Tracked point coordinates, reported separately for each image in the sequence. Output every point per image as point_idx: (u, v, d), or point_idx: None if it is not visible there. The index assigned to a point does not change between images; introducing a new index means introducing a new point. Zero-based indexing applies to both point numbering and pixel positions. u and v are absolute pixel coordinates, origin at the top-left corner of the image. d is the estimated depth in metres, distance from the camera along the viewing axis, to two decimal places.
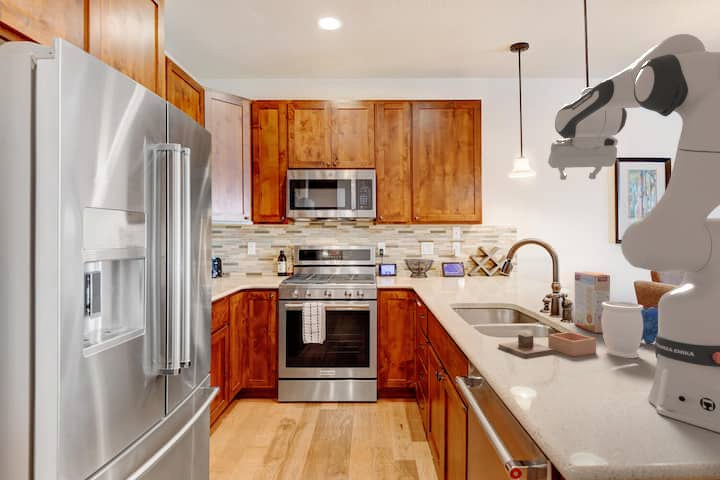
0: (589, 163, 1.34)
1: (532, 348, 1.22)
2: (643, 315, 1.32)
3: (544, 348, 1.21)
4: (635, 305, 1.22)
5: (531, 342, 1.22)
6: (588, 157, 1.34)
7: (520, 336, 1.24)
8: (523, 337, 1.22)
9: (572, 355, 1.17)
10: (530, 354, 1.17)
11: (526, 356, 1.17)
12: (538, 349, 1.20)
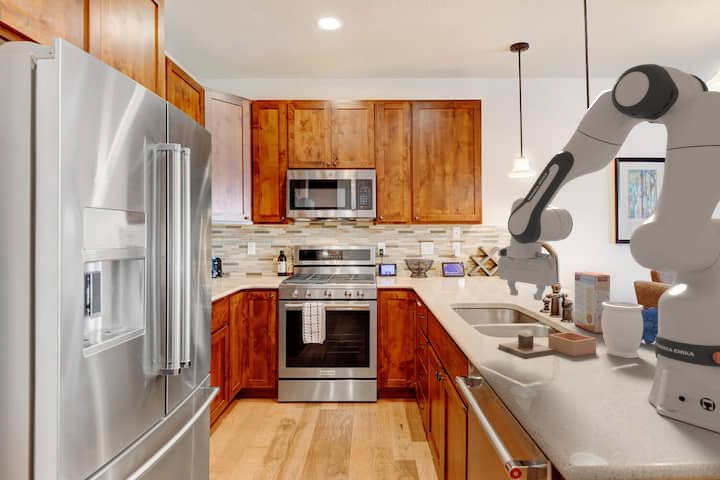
0: None
1: (532, 348, 1.22)
2: (643, 315, 1.32)
3: (544, 348, 1.21)
4: (635, 305, 1.22)
5: (531, 342, 1.22)
6: None
7: (520, 336, 1.24)
8: (523, 337, 1.22)
9: (572, 355, 1.17)
10: (530, 354, 1.17)
11: (526, 356, 1.17)
12: (538, 349, 1.20)
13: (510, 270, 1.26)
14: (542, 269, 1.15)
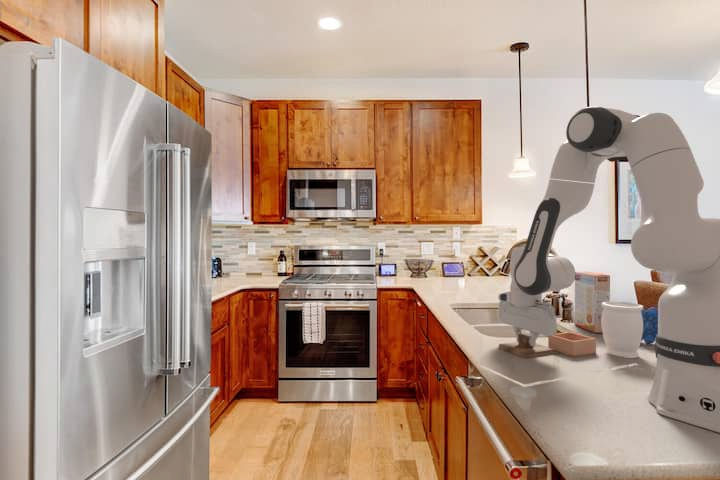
0: None
1: (532, 348, 1.22)
2: (643, 315, 1.32)
3: (544, 348, 1.21)
4: (635, 305, 1.22)
5: None
6: None
7: (520, 336, 1.23)
8: (523, 337, 1.22)
9: (572, 355, 1.17)
10: (530, 354, 1.17)
11: (527, 356, 1.17)
12: (538, 349, 1.20)
13: (511, 315, 1.27)
14: (542, 318, 1.15)
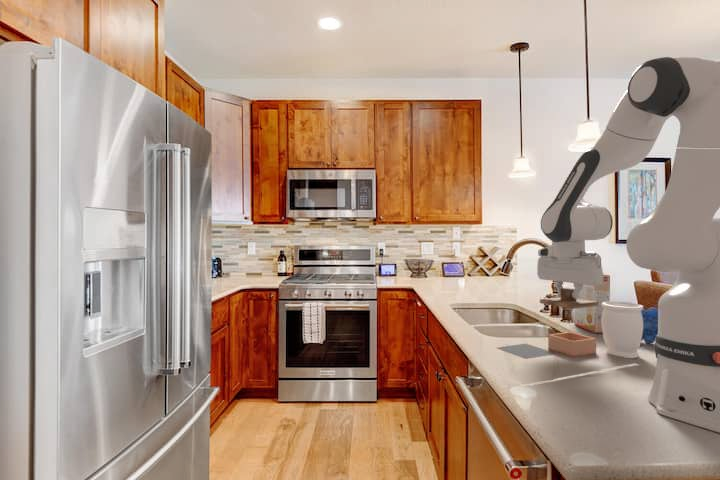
0: None
1: (575, 301, 1.21)
2: (643, 315, 1.32)
3: (588, 301, 1.20)
4: (635, 305, 1.22)
5: None
6: None
7: (563, 290, 1.22)
8: (566, 290, 1.21)
9: (572, 355, 1.17)
10: (575, 305, 1.16)
11: (572, 307, 1.15)
12: (582, 302, 1.19)
13: (552, 269, 1.25)
14: (588, 268, 1.14)
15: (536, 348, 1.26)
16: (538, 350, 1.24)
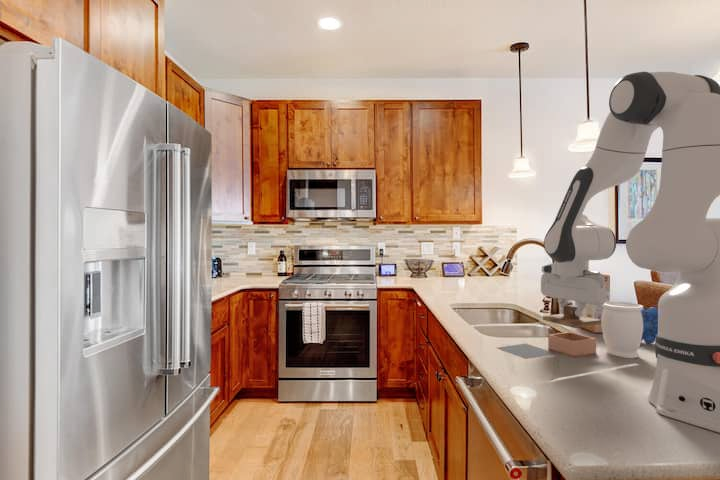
0: None
1: (578, 319, 1.21)
2: (643, 315, 1.32)
3: (591, 319, 1.21)
4: (635, 305, 1.22)
5: None
6: None
7: (566, 307, 1.23)
8: (569, 308, 1.21)
9: (572, 355, 1.17)
10: (578, 324, 1.16)
11: (575, 326, 1.16)
12: (585, 320, 1.20)
13: (555, 287, 1.26)
14: (591, 287, 1.14)
15: (536, 348, 1.26)
16: (538, 350, 1.24)
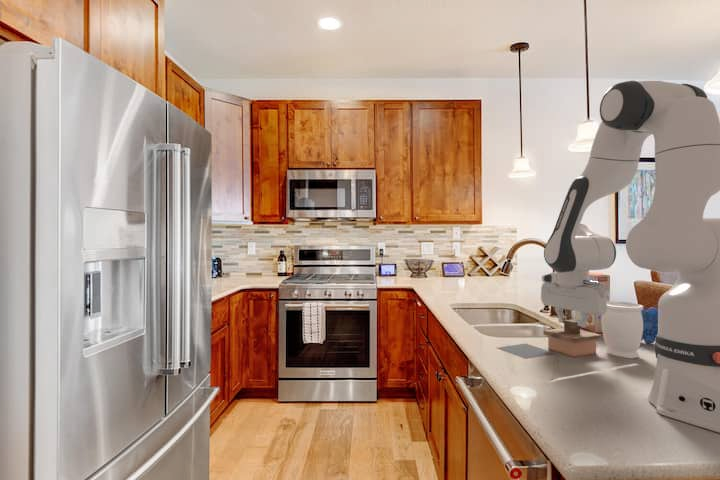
0: None
1: (578, 333, 1.21)
2: (643, 315, 1.32)
3: (591, 334, 1.20)
4: (635, 305, 1.22)
5: (578, 328, 1.21)
6: None
7: (566, 322, 1.22)
8: (570, 323, 1.21)
9: (572, 355, 1.17)
10: (579, 339, 1.16)
11: (576, 341, 1.16)
12: (586, 335, 1.19)
13: (555, 296, 1.26)
14: (592, 297, 1.14)
15: (536, 348, 1.26)
16: (538, 350, 1.24)
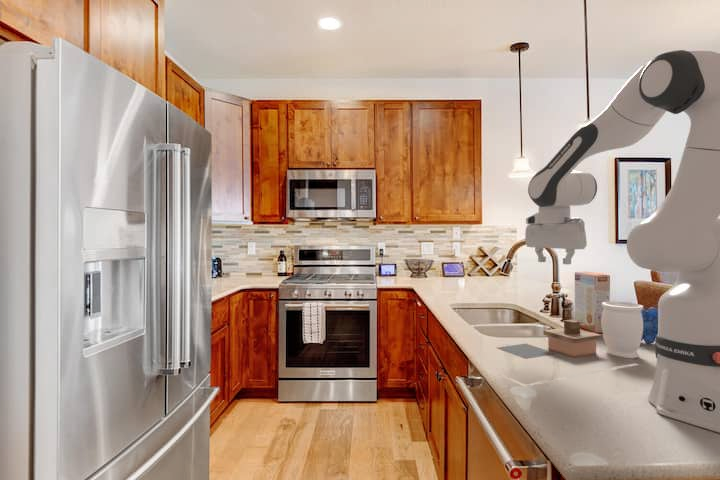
0: None
1: (578, 333, 1.21)
2: (643, 315, 1.32)
3: (591, 334, 1.20)
4: (635, 305, 1.22)
5: (578, 328, 1.21)
6: None
7: (566, 322, 1.22)
8: (570, 323, 1.21)
9: (572, 355, 1.17)
10: (579, 339, 1.16)
11: (576, 341, 1.16)
12: (586, 335, 1.19)
13: (539, 237, 1.29)
14: (572, 232, 1.18)
15: (536, 348, 1.26)
16: (538, 350, 1.24)
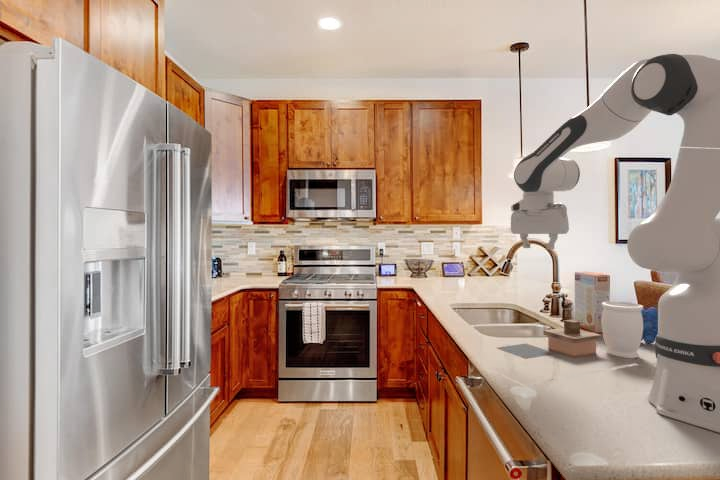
0: None
1: (578, 333, 1.21)
2: (643, 315, 1.32)
3: (591, 334, 1.20)
4: (635, 305, 1.22)
5: (578, 328, 1.21)
6: None
7: (566, 322, 1.22)
8: (570, 323, 1.21)
9: (572, 355, 1.17)
10: (579, 339, 1.16)
11: (576, 341, 1.16)
12: (586, 335, 1.19)
13: (523, 223, 1.32)
14: (555, 218, 1.21)
15: (536, 348, 1.26)
16: (538, 350, 1.24)
